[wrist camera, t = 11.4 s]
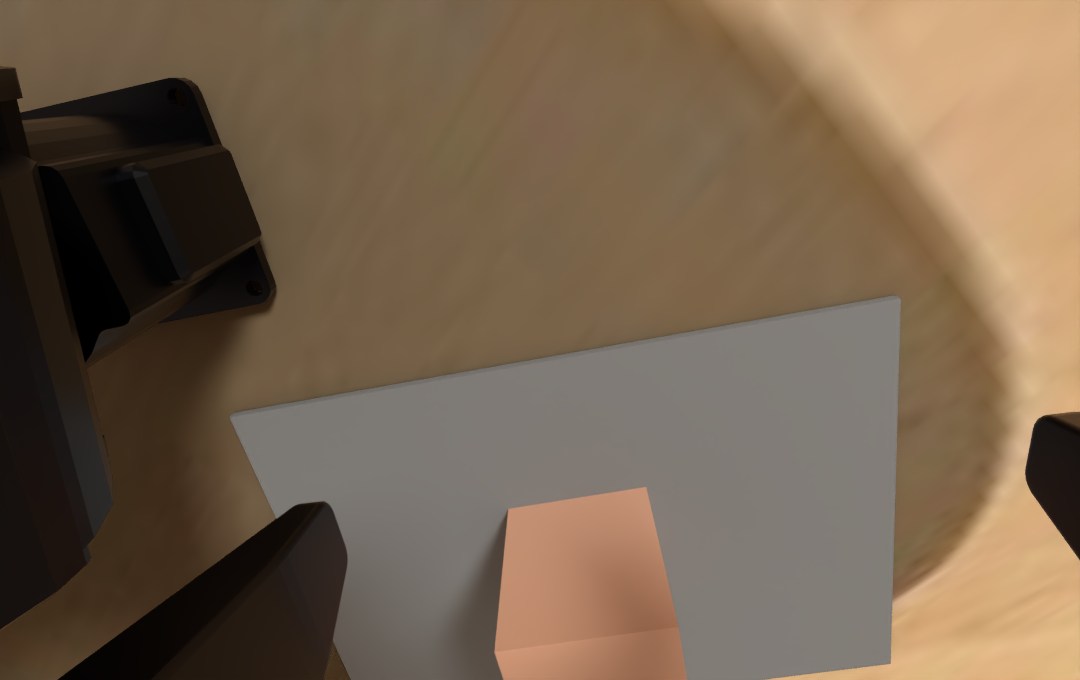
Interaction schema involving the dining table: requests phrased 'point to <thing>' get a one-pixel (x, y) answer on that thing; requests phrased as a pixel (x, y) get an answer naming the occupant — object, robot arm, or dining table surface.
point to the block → (586, 593)
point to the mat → (616, 465)
